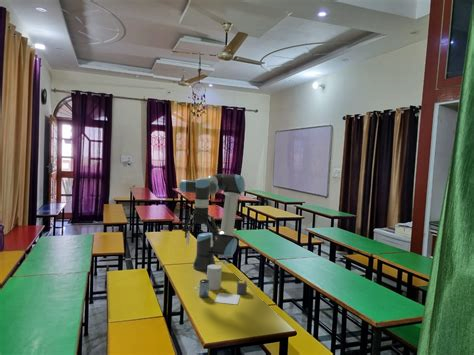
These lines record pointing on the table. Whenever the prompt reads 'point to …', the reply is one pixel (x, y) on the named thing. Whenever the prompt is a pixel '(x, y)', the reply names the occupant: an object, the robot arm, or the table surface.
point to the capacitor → (204, 288)
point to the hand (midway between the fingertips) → (199, 245)
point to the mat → (227, 298)
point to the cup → (214, 276)
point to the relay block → (241, 287)
